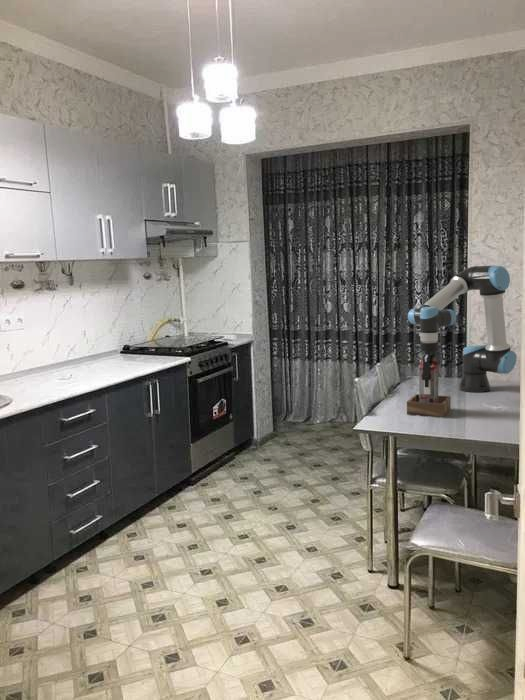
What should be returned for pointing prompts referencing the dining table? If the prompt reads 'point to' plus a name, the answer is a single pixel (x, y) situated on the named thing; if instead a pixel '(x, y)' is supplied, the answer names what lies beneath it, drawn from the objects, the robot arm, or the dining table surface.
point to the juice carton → (433, 383)
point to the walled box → (429, 406)
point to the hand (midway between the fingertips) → (428, 392)
